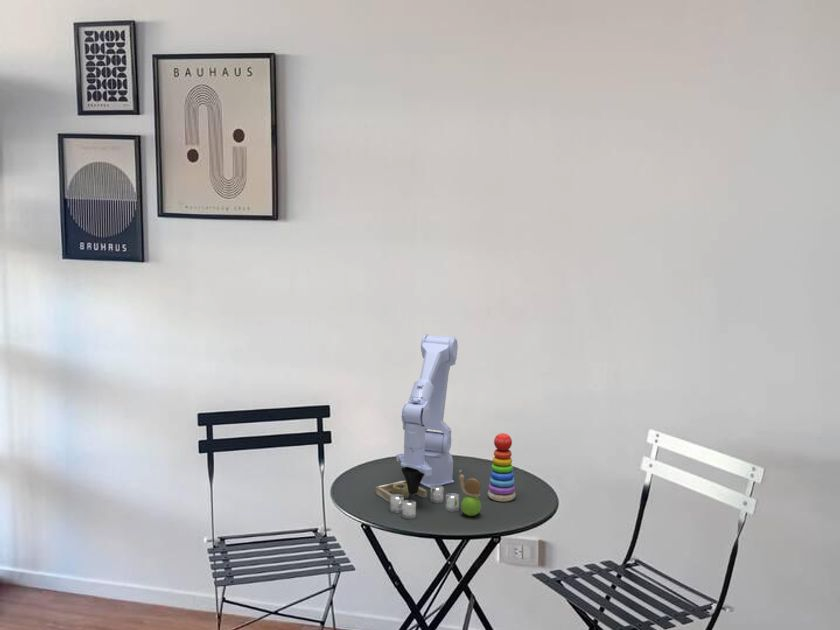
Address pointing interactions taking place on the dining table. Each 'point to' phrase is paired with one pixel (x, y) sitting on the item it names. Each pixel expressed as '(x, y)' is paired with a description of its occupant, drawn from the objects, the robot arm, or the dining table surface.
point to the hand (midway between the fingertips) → (413, 493)
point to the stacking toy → (502, 470)
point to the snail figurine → (470, 495)
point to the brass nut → (401, 489)
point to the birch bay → (385, 489)
